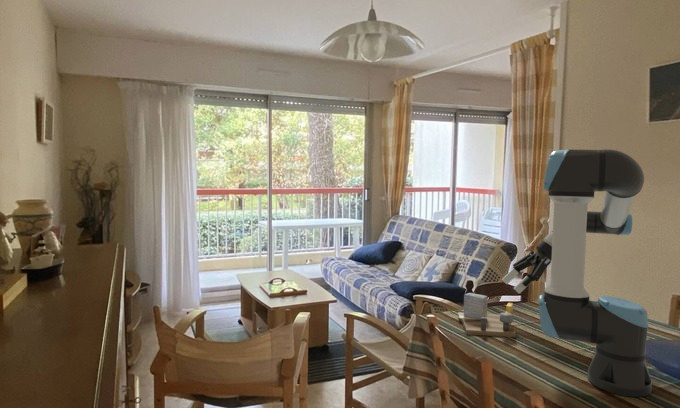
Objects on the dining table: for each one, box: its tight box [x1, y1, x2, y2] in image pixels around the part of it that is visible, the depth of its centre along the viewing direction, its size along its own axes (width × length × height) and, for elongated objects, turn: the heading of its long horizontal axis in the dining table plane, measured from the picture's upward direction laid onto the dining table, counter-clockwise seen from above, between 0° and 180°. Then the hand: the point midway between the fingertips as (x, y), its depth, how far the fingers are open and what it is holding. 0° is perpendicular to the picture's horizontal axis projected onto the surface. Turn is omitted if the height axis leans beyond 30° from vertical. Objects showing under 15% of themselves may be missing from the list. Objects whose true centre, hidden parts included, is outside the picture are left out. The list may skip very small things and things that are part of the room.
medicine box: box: [463, 292, 488, 320], centre depth 175 cm, size 8×4×9 cm, turn 49°
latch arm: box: [499, 302, 514, 326], centre depth 164 cm, size 12×4×7 cm, turn 151°
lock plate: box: [457, 311, 517, 338], centre depth 170 cm, size 20×18×6 cm
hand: (509, 286), depth 171 cm, fingers open, 13 cm apart
